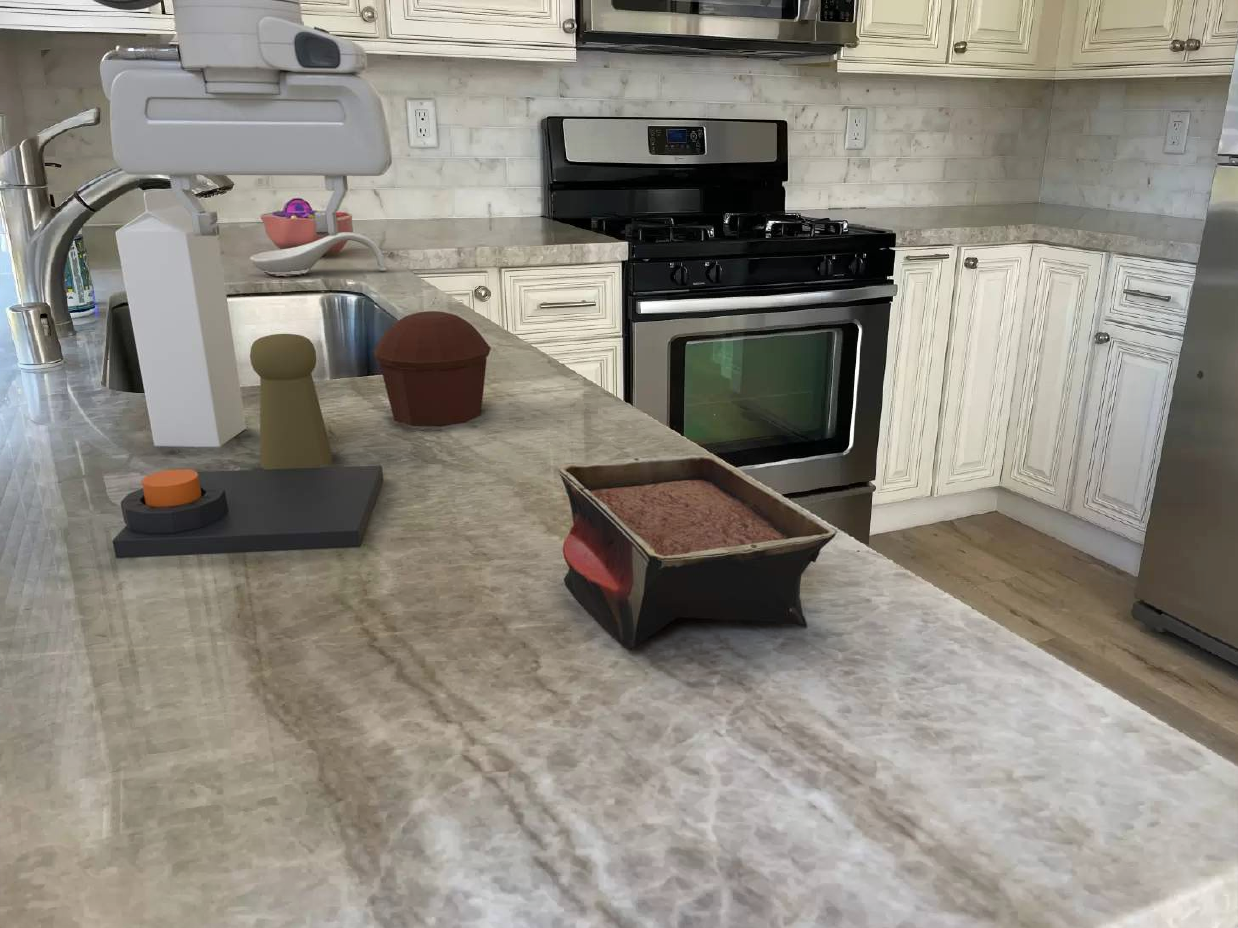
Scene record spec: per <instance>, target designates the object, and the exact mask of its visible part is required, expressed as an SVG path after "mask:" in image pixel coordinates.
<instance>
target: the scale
mask: <svg viewBox="0 0 1238 928" xmlns="http://www.w3.org/2000/svg"><path fill="white" fill-rule="evenodd" d="M196 472H197V473H198V476H199V482H200V488H201V494H202V498H199V499H197V500H195V501H192V502H190V503H186V504H181V505H176V506H161V507H155V506H149V505H146V502H145V497H144V491H143V487H142V488H140V489H136V490H135V491H132V492H129V493H128V494H126V496H125V497H124V498H123V499H122V500H121V501H120V508H121V512H122V519H123V523H124V524H125V526H124V527H123V528H122V529H121V531H119V533H118V534H117V535H116V536H115V537H114V538H113V539H112V540H111V541H112V546H113V551H114V555H115V559H125V558H126V559H129V558H130V559H131V558H150V557H173V556H196V555H197V556H198V555H218V554H241V553H261V552H265V553H266V552H284V551H307V550H330V549H349V548H351V549H353V548H360V547H361V545H362V542H363V539H364V537H365V534H366V531H367V528H368V525H369V522H370V520H371V517H372V513H373V511H374V509H375V505H376V503H377V499H378V497H379V494H380V491H381V489H382V485H383V482H384V473H383V466H382V465H355V466H351V465H350V466H327V467H326V466H325V467H324V466H321V467H318V468H292V469H264V468H262V469H237V470H211V471H209V470H207V471H205V470H204V471H196Z"/></svg>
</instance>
